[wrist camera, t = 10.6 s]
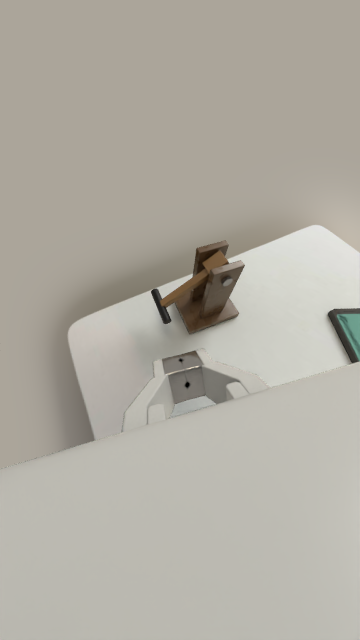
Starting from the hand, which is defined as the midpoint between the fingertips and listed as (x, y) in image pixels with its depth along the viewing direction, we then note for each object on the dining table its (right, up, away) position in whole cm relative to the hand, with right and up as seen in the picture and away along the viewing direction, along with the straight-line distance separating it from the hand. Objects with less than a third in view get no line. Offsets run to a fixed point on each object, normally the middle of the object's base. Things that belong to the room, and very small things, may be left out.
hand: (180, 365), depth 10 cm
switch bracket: (+5, +5, +23) cm, 24 cm away
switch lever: (+2, +7, +16) cm, 17 cm away
